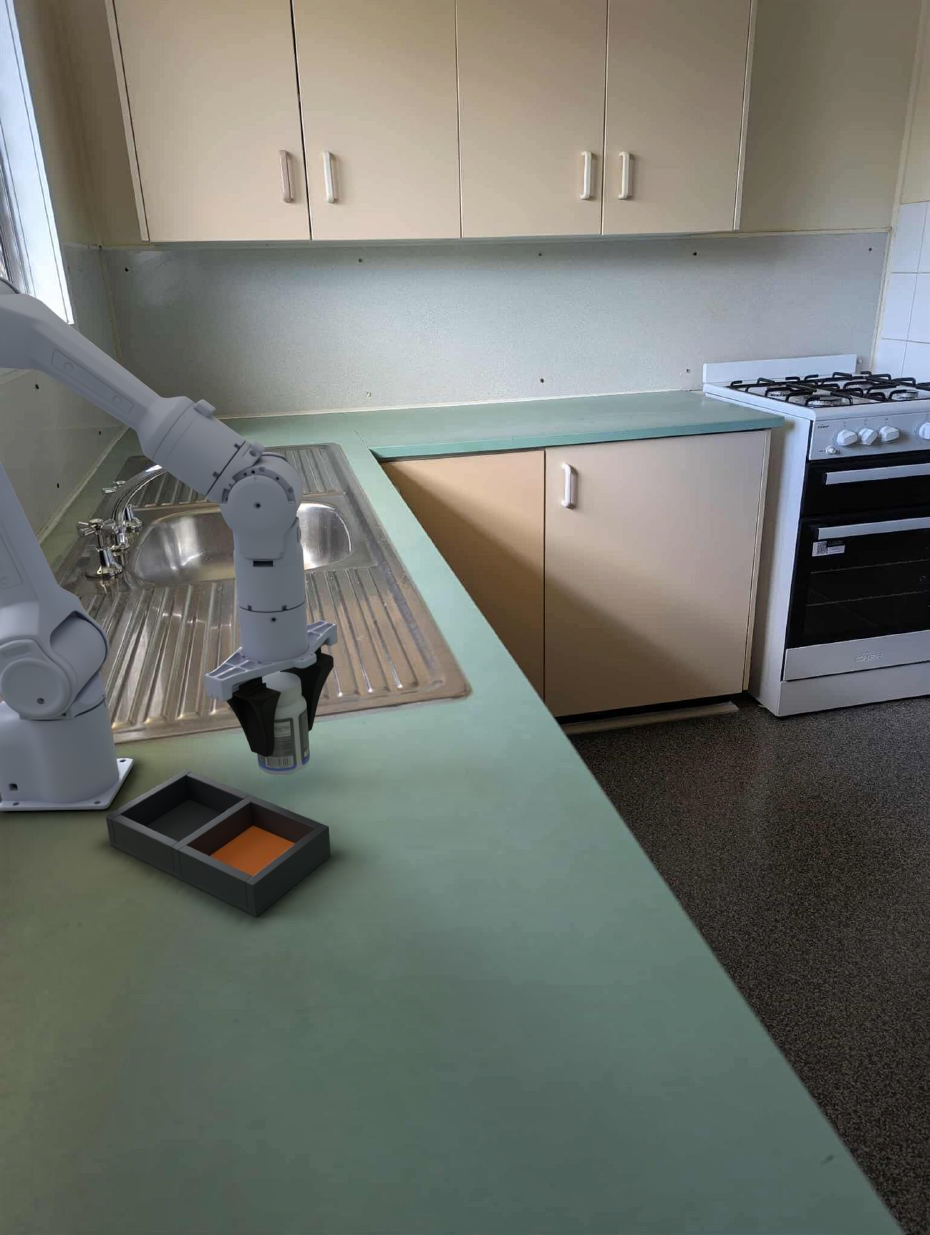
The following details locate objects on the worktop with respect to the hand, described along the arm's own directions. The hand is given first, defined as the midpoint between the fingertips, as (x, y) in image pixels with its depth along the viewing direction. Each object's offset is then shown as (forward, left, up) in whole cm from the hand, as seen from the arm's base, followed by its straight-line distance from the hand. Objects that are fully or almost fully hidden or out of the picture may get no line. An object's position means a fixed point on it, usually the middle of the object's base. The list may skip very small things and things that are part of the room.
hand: (282, 740), depth 80 cm
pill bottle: (0, 0, -3) cm, 3 cm away
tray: (-4, -10, -5) cm, 12 cm away
